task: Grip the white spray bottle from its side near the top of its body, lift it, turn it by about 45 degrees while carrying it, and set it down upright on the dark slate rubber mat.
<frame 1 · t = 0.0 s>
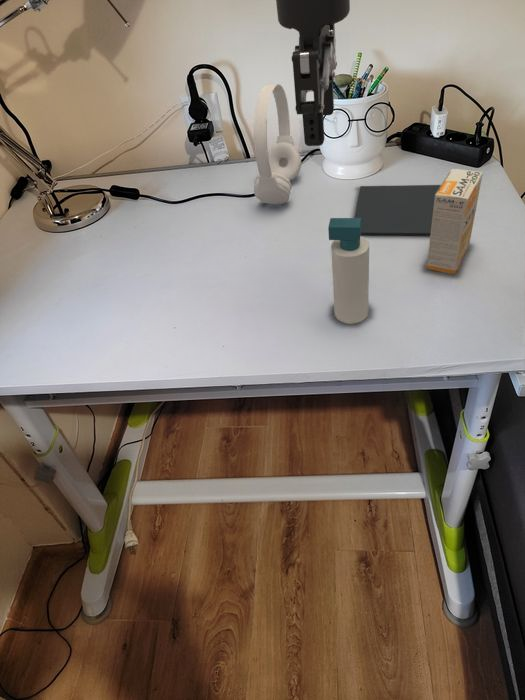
hand: (320, 128, 62), 26 cm above the table, tool pointing down, fingers open, 8 cm apart
spray bottle: (351, 312, 76), on the table
headphones: (280, 193, 103), on the table
supplement box: (448, 258, 82), on the table
mat: (400, 210, 93), on the table
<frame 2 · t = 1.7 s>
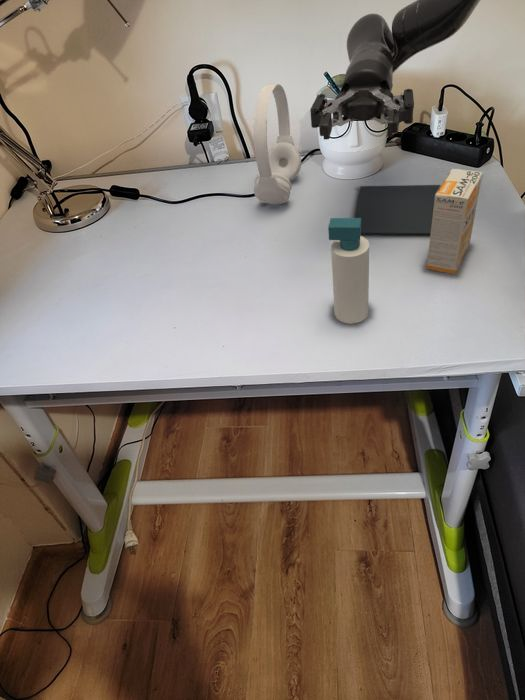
hand: (357, 131, 68), 22 cm above the table, tool horizontal, fingers open, 8 cm apart
nothing on the table moved.
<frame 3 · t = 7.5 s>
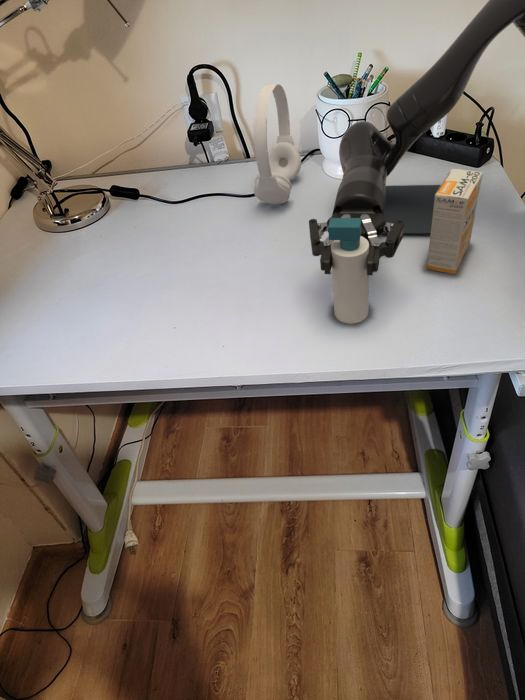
hand: (348, 269, 67), 10 cm above the table, tool horizontal, fingers closed on spray bottle, 5 cm apart
spray bottle: (351, 312, 76), on the table, touching gripper
everything else where it was.
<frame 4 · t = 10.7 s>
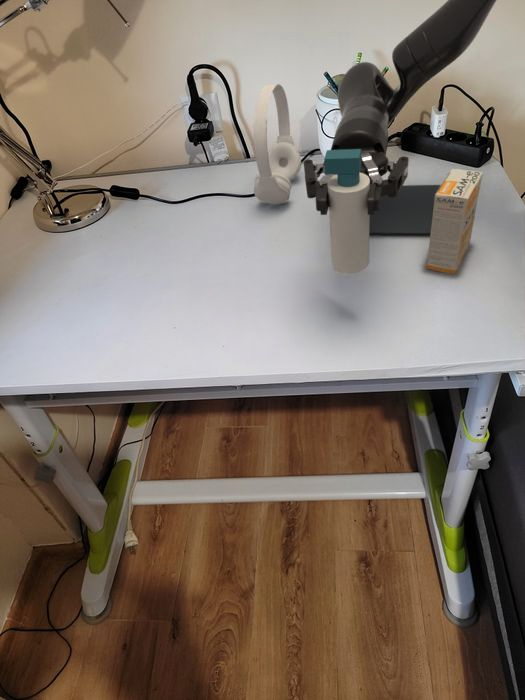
hand: (346, 208, 60), 19 cm above the table, tool horizontal, fingers closed on spray bottle, 5 cm apart
spray bottle: (350, 262, 69), point 9 cm above the table, touching gripper
everything else where it was.
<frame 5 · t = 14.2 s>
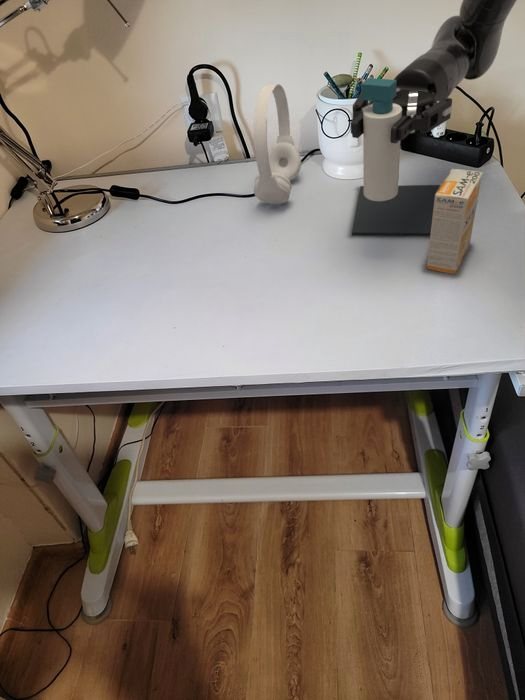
hand: (373, 133, 67), 22 cm above the table, tool horizontal, fingers closed on spray bottle, 5 cm apart
spray bottle: (380, 192, 76), point 12 cm above the table, touching gripper
everything else where it was.
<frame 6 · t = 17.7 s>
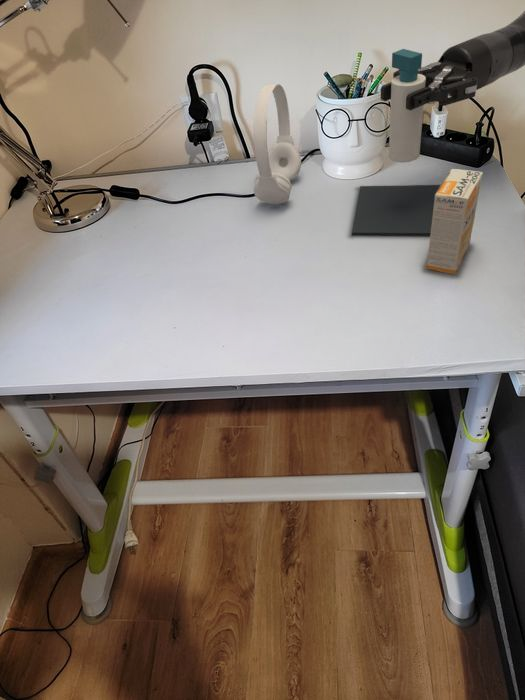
hand: (395, 98, 77), 20 cm above the table, tool horizontal, fingers closed on spray bottle, 5 cm apart
spray bottle: (404, 155, 85), point 10 cm above the table, touching gripper
everything else where it was.
when the fingers open (11 cm above the table, at t = 20.8 s): spray bottle stays where it is, resting on mat.
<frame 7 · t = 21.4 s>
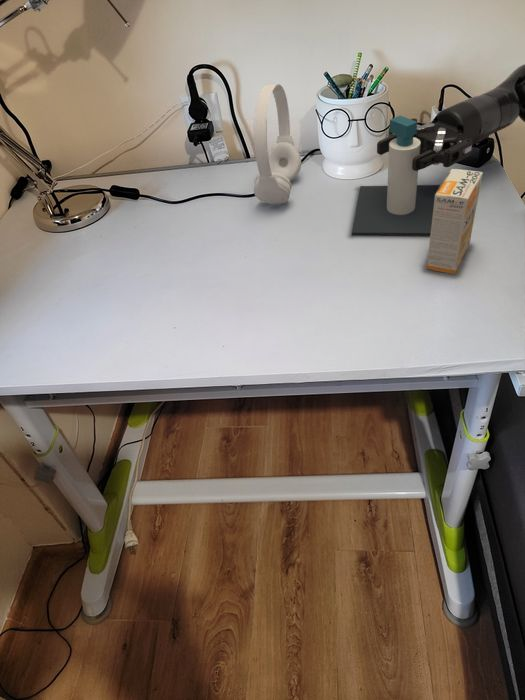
hand: (395, 156, 84), 11 cm above the table, tool horizontal, fingers open, 8 cm apart
spray bottle: (400, 207, 92), point 1 cm above the table, touching mat
everything else where it was.
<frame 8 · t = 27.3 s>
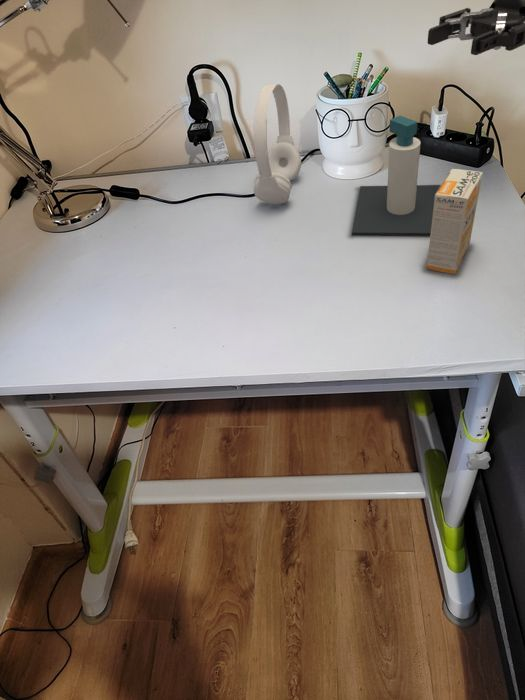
hand: (450, 42, 75), 26 cm above the table, tool horizontal, fingers open, 8 cm apart
nothing on the table moved.
at the end: spray bottle inside the target area on the mat (0.1 cm from its centre), point 0.6 cm above the mat's base; spray bottle tilted 0°; spray bottle moved 28.7 cm from its start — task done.
